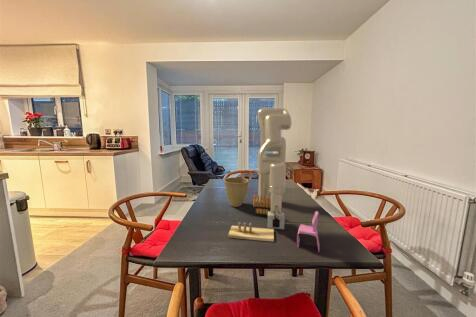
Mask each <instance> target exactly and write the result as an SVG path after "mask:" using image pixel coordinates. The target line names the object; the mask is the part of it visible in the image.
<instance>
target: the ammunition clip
mask: <svg viewBox="0 0 476 317" xmlns="http://www.w3.org/2000/svg"><path fill="white" fill-rule="evenodd" d="M256 198H257V201H256ZM270 205H271V196H270V202H269V197H268V195H267V200H265V195H264V197H263V202H262V194H261V196H260V203H259V194H258V193H257V195H256V194H255V193H254V194H253V205H252V206H253V207H252V215H253V216H258V217H259V216H260V217H261V216H262V217H268V211H270Z"/></svg>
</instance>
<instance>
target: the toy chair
mask: <svg viewBox="0 0 476 317" xmlns="http://www.w3.org/2000/svg"><path fill="white" fill-rule="evenodd" d="M318 216H319V211H318V210H317V211H314V214H313V216H312V219H311V222H312V223H311V225H306V224H302V223H301V224H300V225H299V227H298V231H297V235H296V243H297V244H296V245H297V248H300V242H301V239H300V234H303V235H309V236H313V237H315V238H316V242H317V243H316V244H317V250H318V253H320V240H319V233H318V229H317V226H318V222H319V217H318Z"/></svg>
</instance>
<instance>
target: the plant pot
mask: <svg viewBox="0 0 476 317" xmlns="http://www.w3.org/2000/svg"><path fill="white" fill-rule="evenodd" d="M223 180H224V187H225V188H224V189H225V193H226V196H227V200H228V202H229V206H230V207H235V208H237V207H241V206H242V205H243V203H244V200H245V198H246V195H247V192H248V191H247V190H248V185H249V179H248V178H244V177H234V176H233V177H227V178H225V179H223Z"/></svg>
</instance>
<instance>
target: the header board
mask: <svg viewBox="0 0 476 317" xmlns="http://www.w3.org/2000/svg"><path fill="white" fill-rule="evenodd" d="M237 223H238V224H237V225H231V227H230V229H229V232H228V235H227V238H230V239H241V240H251V241H260V242H261V241H263V242H275V233H274V232H275V228H264V227H255V226H254V227H253V223H252V222H249V224H248V225H249V226H247V222H243V226H242V222H241V221H239V222H237Z"/></svg>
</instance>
